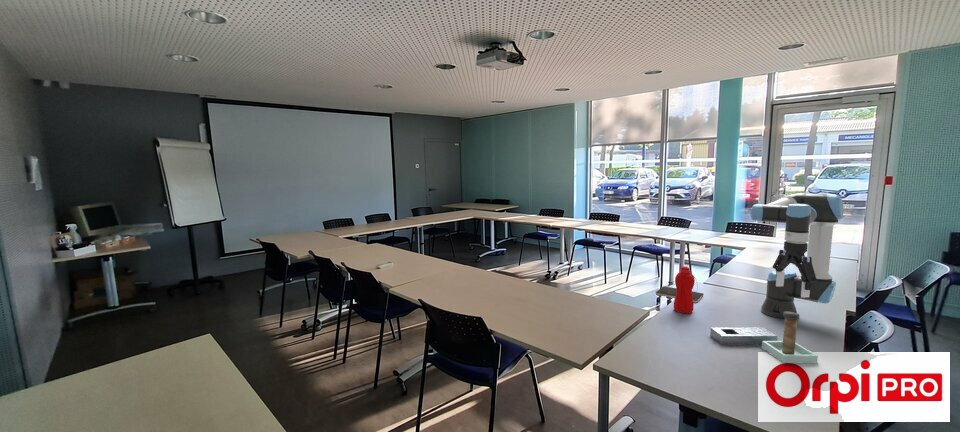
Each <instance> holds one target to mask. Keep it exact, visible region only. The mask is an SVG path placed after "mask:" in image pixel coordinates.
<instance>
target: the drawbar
mask: <svg viewBox="0 0 960 432" xmlns="http://www.w3.org/2000/svg"><path fill="white" fill-rule="evenodd" d="M709 333H710V335H709V336H710V337H711V338H712V339H714V340H715V341H716V342H717V343H719V344H720V345H721V346H722V345H723V346H725V345H740V346H741V345H755V346H756V345H757V346H758V345H761V346H762V341H778V335H776V334H775V333H773V332H772V331H770V330H768V329H766V328H765V327H763V326H762V327H758V326H757V327H754V326H753V327H752V326H751V327H710V332H709Z"/></svg>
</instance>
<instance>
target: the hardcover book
mask: <svg viewBox="0 0 960 432" xmlns="http://www.w3.org/2000/svg"><path fill="white" fill-rule="evenodd" d="M676 294H677V289H676V287H672V286H665V285H663V286H662V287H661V288H659V289H657V290H656V291H655V295H656V296H660V297H661V296H662V297H666V298H671V299H675V297H676ZM703 297H704V293H703V292H698V291H697V292H696V291H694V290H692V298H693V303H695V304H697V303H698V302H699V301H700V299H702V298H703Z"/></svg>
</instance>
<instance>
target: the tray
mask: <svg viewBox="0 0 960 432" xmlns="http://www.w3.org/2000/svg"><path fill="white" fill-rule="evenodd" d="M782 347H783V340H777V341H762V345H761V349H762V350H764V351H765V352H767V353H769V354H770V353H771V354H770V355H772V356H773V357H775V358H776V359H777V360H779V361H780V362H782V363H783V364H817V363H818V358H819V355H817V354H816V353H814V352H813V351H811V350H809V349H807V348H805V347H804V346H802V345H800V344H799V343H797V342H796V341H795V352H794V354H784V353H782Z"/></svg>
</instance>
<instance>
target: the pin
mask: <svg viewBox="0 0 960 432" xmlns="http://www.w3.org/2000/svg"><path fill="white" fill-rule="evenodd" d="M783 316H784V317H785V319H784V324H783V325H784V326H783V334H782V335H783V337H782V341H783V347H782V353H784V354H794V352H795V342H796V338H797V328H798V327H797V325H798V320H800V316H801V315H800V314H799V313H798V312H797V313H794V312H789V311H785V312H783Z"/></svg>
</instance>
